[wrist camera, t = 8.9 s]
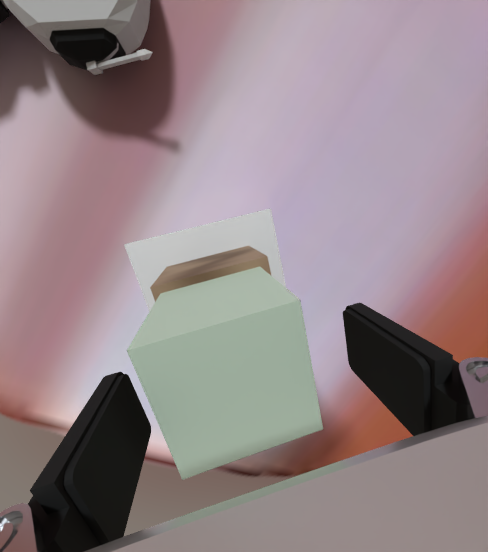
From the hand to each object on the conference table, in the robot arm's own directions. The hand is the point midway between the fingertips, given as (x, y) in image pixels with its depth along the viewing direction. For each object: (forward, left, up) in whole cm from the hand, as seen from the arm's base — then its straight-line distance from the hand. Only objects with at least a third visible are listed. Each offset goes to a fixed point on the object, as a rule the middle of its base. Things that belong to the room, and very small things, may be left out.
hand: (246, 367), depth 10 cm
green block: (+1, 0, -5) cm, 5 cm away
